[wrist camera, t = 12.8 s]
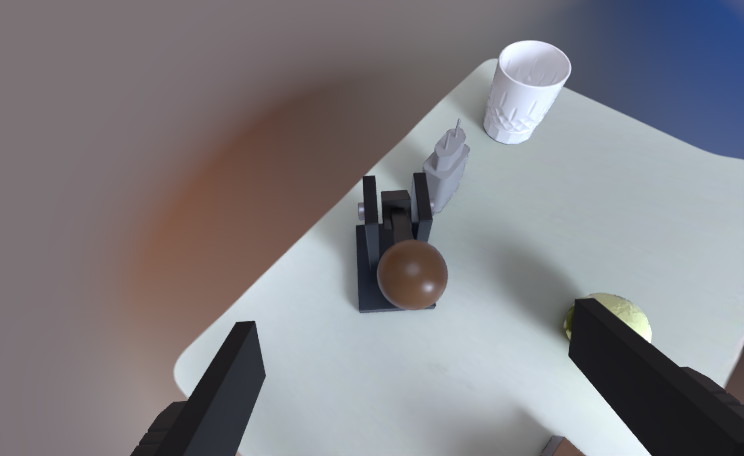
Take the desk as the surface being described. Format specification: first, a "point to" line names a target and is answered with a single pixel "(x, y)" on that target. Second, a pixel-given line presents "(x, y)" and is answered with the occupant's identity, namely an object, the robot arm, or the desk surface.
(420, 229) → the bracket
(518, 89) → the white cup
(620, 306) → the tennis ball
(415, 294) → the lever
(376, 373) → the desk surface
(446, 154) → the power adapter
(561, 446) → the button block
